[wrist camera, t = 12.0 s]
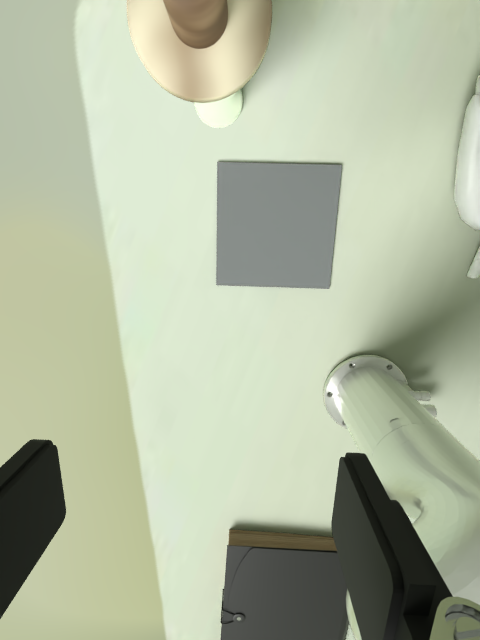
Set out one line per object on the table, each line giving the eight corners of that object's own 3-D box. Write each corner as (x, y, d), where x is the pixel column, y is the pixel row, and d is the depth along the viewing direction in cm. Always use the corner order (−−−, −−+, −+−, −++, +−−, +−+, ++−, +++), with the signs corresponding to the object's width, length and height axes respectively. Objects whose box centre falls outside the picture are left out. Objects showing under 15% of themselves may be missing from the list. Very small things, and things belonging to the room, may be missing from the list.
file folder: (226, 547, 53) (368, 556, 53) (227, 525, 57) (359, 534, 57) (216, 678, 62) (339, 686, 62) (218, 652, 66) (333, 658, 66)
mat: (341, 165, 41) (342, 165, 40) (328, 288, 45) (329, 288, 44) (217, 162, 41) (217, 161, 41) (216, 284, 45) (216, 285, 45)
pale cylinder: (221, 144, 40) (206, 94, 26) (179, 104, 39) (138, 28, 25) (257, 97, 39) (263, 16, 25) (215, 54, 38) (194, -58, 23)
